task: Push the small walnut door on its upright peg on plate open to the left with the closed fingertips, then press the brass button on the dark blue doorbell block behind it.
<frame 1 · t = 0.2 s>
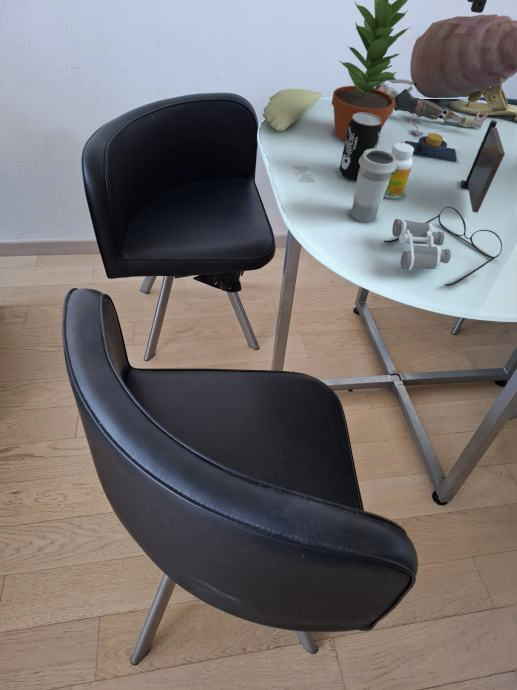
hand: (473, 6, 93), 30 cm above the table, tool pointing down, fingers open, 8 cm apart
cup: (362, 216, 95), on the table
bell button: (433, 140, 114), point 3 cm above the table, slide at 0.1 cm
supplement bottle: (389, 193, 102), on the table
sculpture: (482, 45, 118), point 18 cm above the table, touching sandal
doorbell: (429, 152, 116), on the table
door: (484, 170, 95), point 8 cm above the table, hinge at 0.0°
beverage can: (353, 175, 106), on the table
binoculars: (419, 252, 85), point 1 cm above the table, touching glasses
toy 2: (485, 122, 125), point 3 cm above the table
upright peg on plate: (466, 189, 105), on the table
potted plant: (356, 136, 119), on the table
glasses: (445, 235, 84), point 4 cm above the table, touching binoculars
sandal: (492, 114, 137), on the table, touching sculpture
dumpling: (304, 112, 122), point 2 cm above the table
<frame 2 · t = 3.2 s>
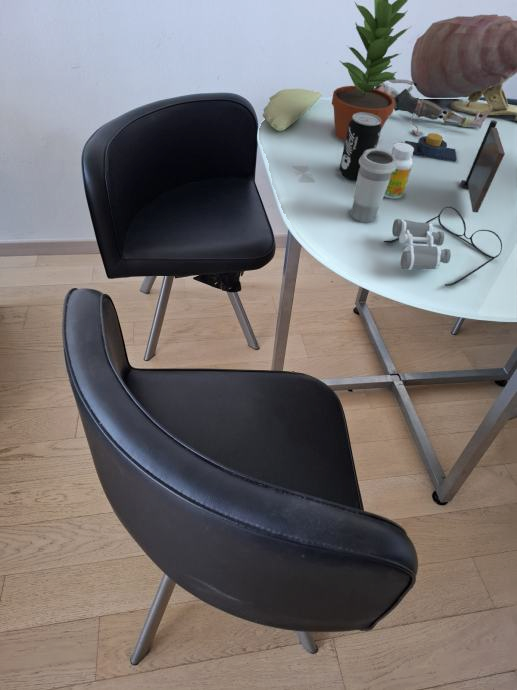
nothing on the table moved.
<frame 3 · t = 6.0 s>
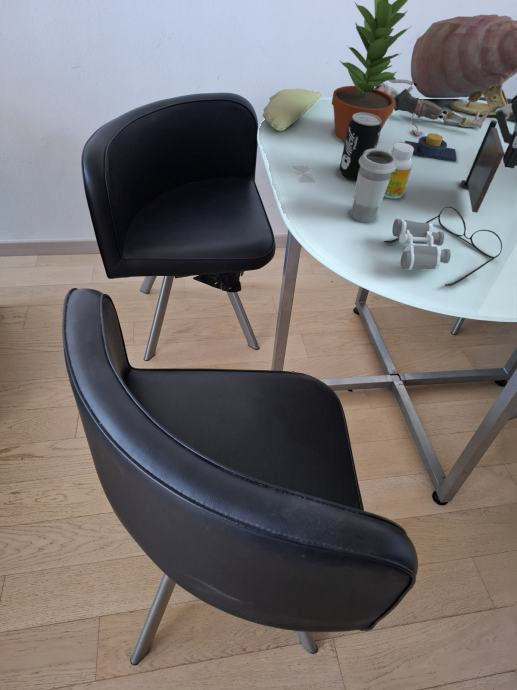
hand: (508, 166, 90), 11 cm above the table, tool pointing down, fingers closed
door: (484, 170, 95), point 8 cm above the table, hinge at 0.3°, touching gripper
everything else where it was.
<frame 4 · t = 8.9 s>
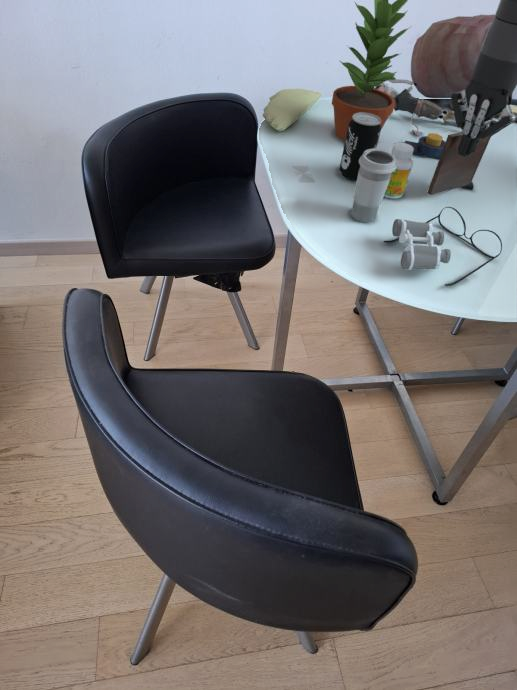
hand: (464, 155, 92), 11 cm above the table, tool pointing down, fingers closed
door: (459, 161, 97), point 8 cm above the table, hinge at 47.5°, touching gripper
everything else where it was.
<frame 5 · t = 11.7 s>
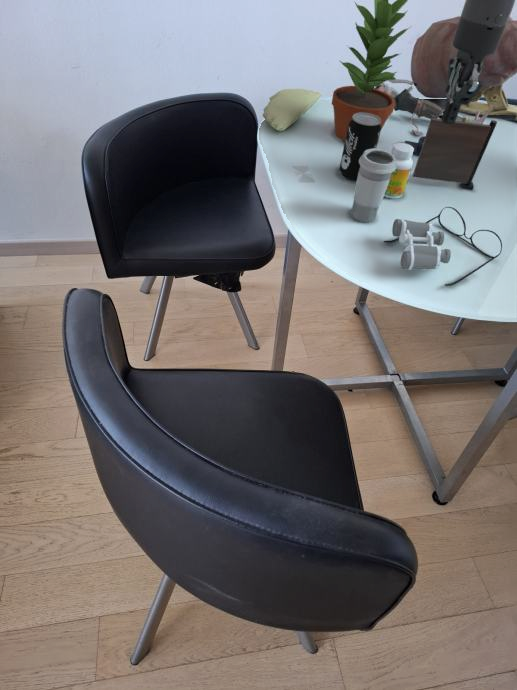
hand: (447, 122, 93), 14 cm above the table, tool pointing down, fingers closed
door: (450, 152, 100), point 8 cm above the table, hinge at 83.3°
everything else where it was.
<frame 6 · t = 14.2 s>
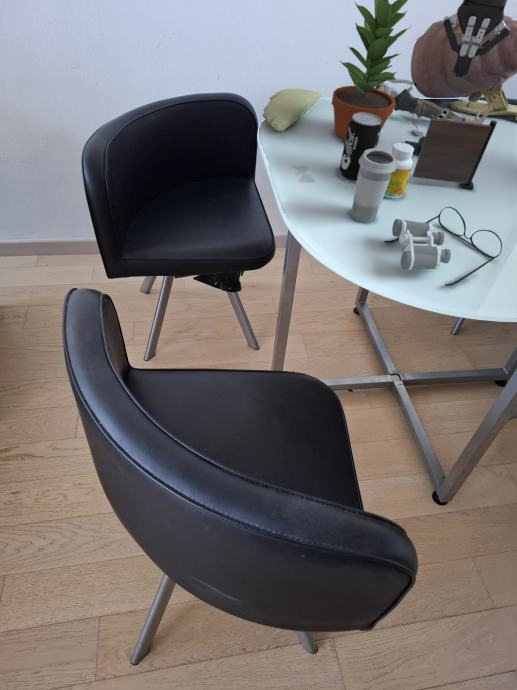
hand: (458, 75, 100), 18 cm above the table, tool pointing down, fingers closed
nothing on the table moved.
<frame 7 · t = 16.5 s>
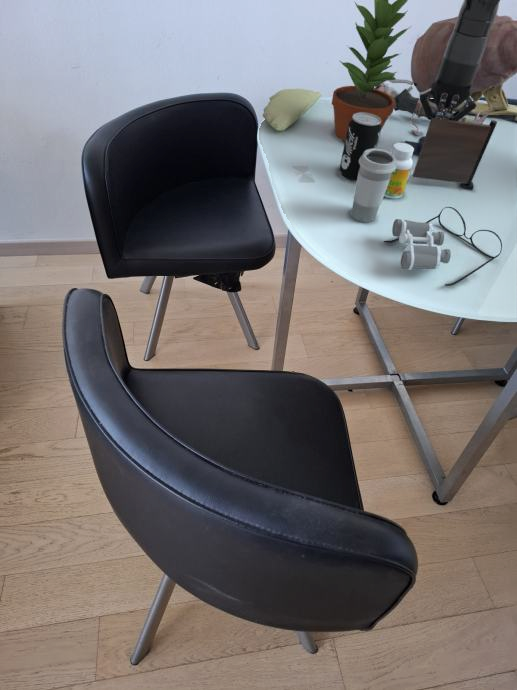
hand: (433, 139, 114), 3 cm above the table, tool pointing down, fingers closed
bell button: (432, 142, 115), point 2 cm above the table, slide at -0.5 cm, touching gripper
everything else where it was.
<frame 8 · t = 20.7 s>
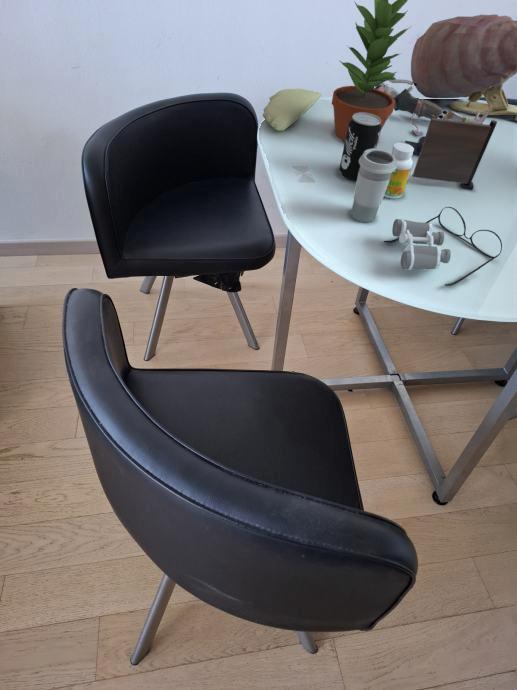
bell button: (433, 140, 114), point 3 cm above the table, slide at 0.1 cm
everything else where it was.
at the end: door at +83° (first picture: +0°); bell button pushed in 1.1 cm at the most during the clip, back to where it started at the end; bell button slide at 0.1 cm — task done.
